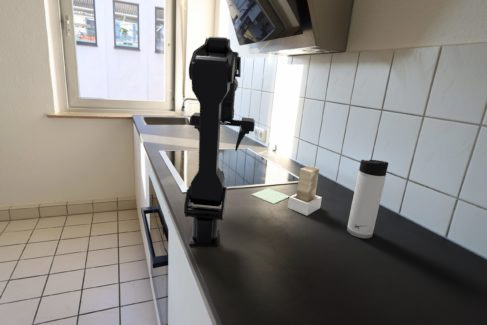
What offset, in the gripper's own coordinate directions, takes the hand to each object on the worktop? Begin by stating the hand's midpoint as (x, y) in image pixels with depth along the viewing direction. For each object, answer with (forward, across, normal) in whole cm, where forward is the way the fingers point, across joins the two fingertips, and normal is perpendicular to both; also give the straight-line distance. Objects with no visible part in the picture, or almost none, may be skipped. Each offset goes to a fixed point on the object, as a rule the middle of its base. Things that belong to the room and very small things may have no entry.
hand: (221, 149), depth 88 cm
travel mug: (+13, -39, +19) cm, 45 cm away
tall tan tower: (+14, -27, +6) cm, 31 cm away
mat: (+15, -17, -1) cm, 23 cm away
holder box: (+14, -27, +6) cm, 31 cm away
